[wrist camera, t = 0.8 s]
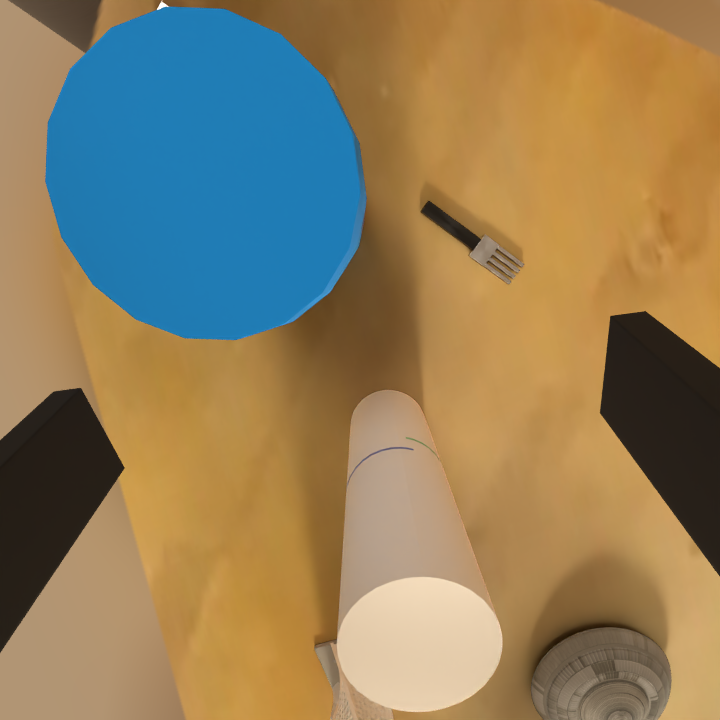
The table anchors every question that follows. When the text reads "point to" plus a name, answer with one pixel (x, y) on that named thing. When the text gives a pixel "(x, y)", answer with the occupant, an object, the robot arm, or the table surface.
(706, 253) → the table surface
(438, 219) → the fork
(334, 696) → the skyscraper
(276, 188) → the thermos
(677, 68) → the table surface
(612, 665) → the flying saucer
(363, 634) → the cylindrical container
